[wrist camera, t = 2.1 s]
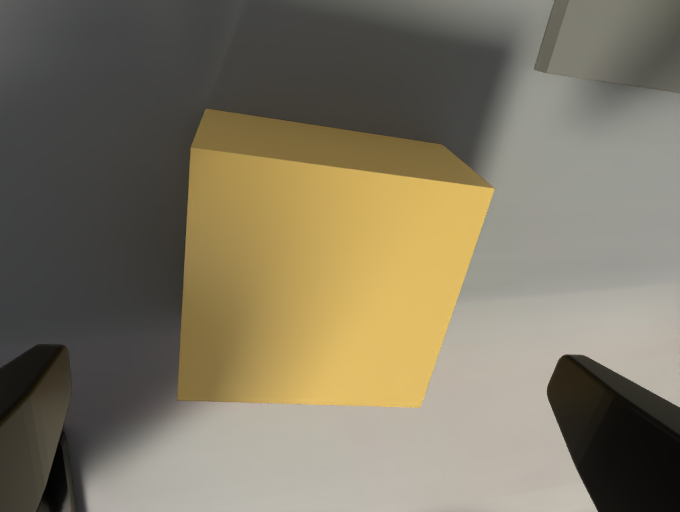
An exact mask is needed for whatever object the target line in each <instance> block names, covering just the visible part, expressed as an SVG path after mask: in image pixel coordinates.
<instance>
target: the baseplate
mask: <svg viewBox="0 0 680 512" xmlns="http://www.w3.org/2000/svg"><path fill="white" fill-rule="evenodd" d="M534 70H537V71H541V72H544V73H549V74H556V75H562V76H569V77H576V78H583V79H589V80H596V81H603V82H610V83H617V84H623V85H630V86H637V87H644V88H650V89H657V90H664V91H671V92H678V93H680V0H555V2H554V6H553V9H552V12H551V16H550V19H549V22H548V26H547V29H546V32H545V35H544V39H543V42H542V45H541V49H540V52H539V55H538V58H537V62H536V65H535V68H534Z"/></svg>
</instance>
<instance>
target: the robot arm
mask: <svg viewBox="0 0 680 512" xmlns="http://www.w3.org/2000/svg"><path fill="white" fill-rule="evenodd" d="M71 394H72V379H71V370H70V362H69V354H68V350H67V348H66V347H65V346H64V345H61V344H39V345H36V346H34V347H32V348H31V349H29V350H28V351H26V352H25V353H23V354H21V355H20V356H18V357H17V358H15V359H14V360H12V361H11V362H9V363H7V364H6V365H4V366H3V367H1V368H0V512H76V504H75V497H74V490H73V482H72V475H71V467H70V460H69V453H68V445H67V438H66V435H65V433H64V432H63V431H62V427H63V424H64V420H65V417H66V413H67V410H68V406H69V403H70V399H71ZM547 396H548V400H549V403H550V405H551V407H552V410H553V412H554V415H555V417H556V420H557V422H558V425H559V427H560V430H561V432H562V435H563V437H564V440H565V442H566V445H567V447H568V450H569V452H570V455H571V457H572V460H573V462H574V464H575V467H576V469H577V471H578V473H579V475H580V477H581V479H582V481H583V483H584V485H585V487H586V489H587V491H588V493H589V495H590V497H591V499H592V501H593V503H594V505H595V507H596V509H597V511H598V512H680V407H678V406H676V405H674V404H672V403H671V402H669V401H667V400H665V399H663V398H661V397H660V396H658V395H656V394H654V393H652V392H650V391H649V390H647V389H645V388H643V387H641V386H639V385H638V384H636V383H634V382H632V381H630V380H628V379H627V378H625V377H623V376H621V375H619V374H617V373H616V372H614V371H612V370H610V369H608V368H607V367H605V366H603V365H601V364H599V363H597V362H596V361H594V360H592V359H590V358H588V357H586V356H584V355H563V356H562V357H561V358H560V359H559V361H558V363H557V365H556V367H555V370H554V372H553V374H552V377H551V379H550V381H549V384H548V387H547Z"/></svg>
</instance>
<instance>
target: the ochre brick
mask: <svg viewBox="0 0 680 512" xmlns="http://www.w3.org/2000/svg"><path fill="white" fill-rule="evenodd" d="M494 190H495V188H494V187H492V186H491V185H490V184H489V183H488V182H486V181H485V180H484V179H483V178H482V177H480V176H479V175H478V174H477V173H476V172H475V171H473V170H472V169H471V168H470V167H469V166H467V165H466V164H465V163H464V162H463V161H461V160H460V159H459V158H458V157H457V156H455V155H454V154H453V153H452V152H451V151H450V150H448V149H447V148H446V147H445V146H444V145H442V144H436V143H429V142H423V141H416V140H410V139H403V138H396V137H390V136H383V135H377V134H370V133H364V132H357V131H350V130H344V129H337V128H331V127H324V126H318V125H311V124H304V123H298V122H291V121H285V120H278V119H272V118H265V117H258V116H252V115H245V114H239V113H232V112H226V111H219V110H213V109H205V112H204V114H203V117H202V119H201V122H200V125H199V127H198V130H197V132H196V135H195V138H194V140H193V143H192V145H191V152H190V170H189V189H188V208H187V226H186V245H185V263H184V282H183V300H182V319H181V337H180V356H179V374H178V393H177V400H179V401H213V402H247V403H281V404H315V405H350V406H384V407H418V408H420V407H421V404H422V402H423V399H424V396H425V393H426V390H427V387H428V384H429V381H430V378H431V375H432V372H433V369H434V366H435V363H436V360H437V357H438V354H439V351H440V349H441V346H442V343H443V340H444V337H445V334H446V331H447V328H448V325H449V322H450V319H451V316H452V313H453V310H454V307H455V304H456V301H457V298H458V296H459V293H460V290H461V287H462V284H463V281H464V278H465V275H466V272H467V269H468V266H469V263H470V260H471V257H472V254H473V251H474V248H475V245H476V243H477V240H478V237H479V234H480V231H481V228H482V225H483V222H484V219H485V216H486V213H487V210H488V207H489V204H490V201H491V198H492V195H493V193H494Z"/></svg>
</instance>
